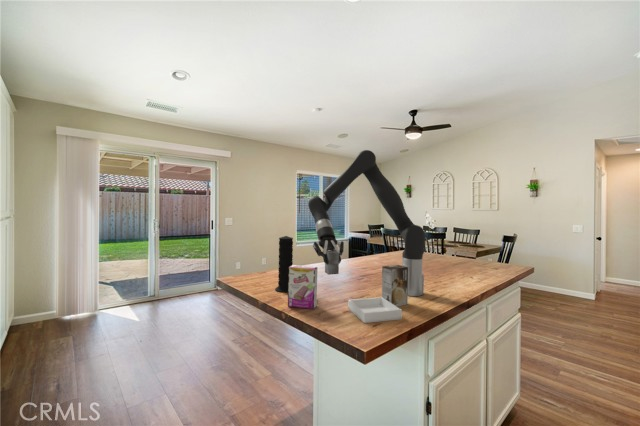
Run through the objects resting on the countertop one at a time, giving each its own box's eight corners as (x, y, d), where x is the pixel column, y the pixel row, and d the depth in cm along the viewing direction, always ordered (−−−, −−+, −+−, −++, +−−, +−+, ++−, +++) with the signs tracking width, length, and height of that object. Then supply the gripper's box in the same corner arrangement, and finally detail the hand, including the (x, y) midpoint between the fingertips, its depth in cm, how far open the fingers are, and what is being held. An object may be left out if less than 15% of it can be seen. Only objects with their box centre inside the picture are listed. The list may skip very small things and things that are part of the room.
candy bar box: (287, 307, 113) (288, 266, 112) (291, 303, 118) (291, 264, 117) (314, 309, 110) (314, 268, 110) (317, 305, 115) (317, 266, 115)
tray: (381, 305, 117) (381, 297, 117) (401, 319, 103) (401, 309, 102) (348, 308, 113) (348, 299, 113) (364, 323, 98) (364, 313, 98)
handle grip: (271, 291, 133) (291, 293, 131) (272, 236, 133) (292, 237, 131) (279, 286, 143) (297, 287, 141) (279, 234, 143) (298, 235, 141)
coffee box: (397, 300, 124) (398, 264, 124) (407, 304, 119) (408, 267, 118) (381, 303, 120) (381, 265, 120) (391, 307, 114) (392, 268, 114)
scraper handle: (335, 271, 119) (335, 250, 119) (338, 274, 115) (338, 252, 115) (324, 272, 118) (325, 250, 118) (328, 274, 114) (328, 252, 113)
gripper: (311, 225, 121) (318, 258, 110) (341, 225, 125) (352, 257, 114) (308, 236, 126) (314, 269, 115) (337, 236, 130) (347, 267, 119)
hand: (333, 262), depth 114 cm, fingers closed on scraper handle, 4 cm apart
